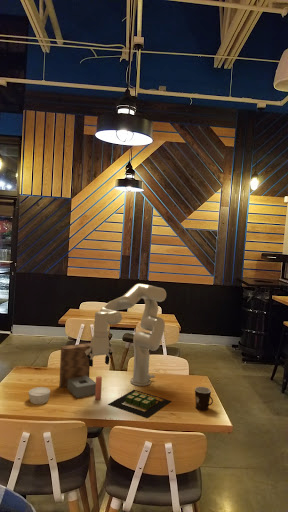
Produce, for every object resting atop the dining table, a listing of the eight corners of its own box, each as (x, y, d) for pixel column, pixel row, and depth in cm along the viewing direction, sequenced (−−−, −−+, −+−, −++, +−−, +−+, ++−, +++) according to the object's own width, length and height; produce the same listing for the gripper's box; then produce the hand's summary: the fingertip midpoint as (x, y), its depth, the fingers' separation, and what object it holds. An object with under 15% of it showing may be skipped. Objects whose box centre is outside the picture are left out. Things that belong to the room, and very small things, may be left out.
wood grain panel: (87, 381, 231) (89, 343, 230) (91, 385, 226) (93, 345, 225) (59, 386, 221) (60, 346, 220) (63, 390, 216) (64, 349, 215)
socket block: (86, 385, 225) (86, 375, 225) (96, 394, 213) (97, 383, 213) (67, 388, 218) (67, 378, 218) (76, 398, 207) (77, 387, 206)
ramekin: (30, 406, 194) (30, 396, 194) (26, 398, 204) (26, 388, 204) (52, 403, 199) (52, 393, 199) (47, 395, 209) (47, 385, 209)
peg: (99, 397, 209) (100, 375, 209) (101, 399, 207) (102, 377, 206) (94, 398, 208) (95, 376, 207) (96, 400, 205) (97, 378, 204)
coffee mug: (192, 404, 205) (193, 386, 205) (207, 404, 206) (208, 386, 206) (197, 414, 194) (198, 395, 193) (213, 414, 195) (214, 395, 194)
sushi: (171, 402, 208) (171, 396, 208) (147, 419, 187) (147, 412, 187) (134, 391, 222) (134, 384, 222) (107, 405, 201) (108, 398, 200)
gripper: (111, 331, 213) (109, 361, 214) (83, 333, 204) (81, 365, 204) (117, 334, 207) (116, 365, 208) (89, 337, 198) (87, 369, 198)
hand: (98, 365), depth 206 cm, fingers open, 9 cm apart
